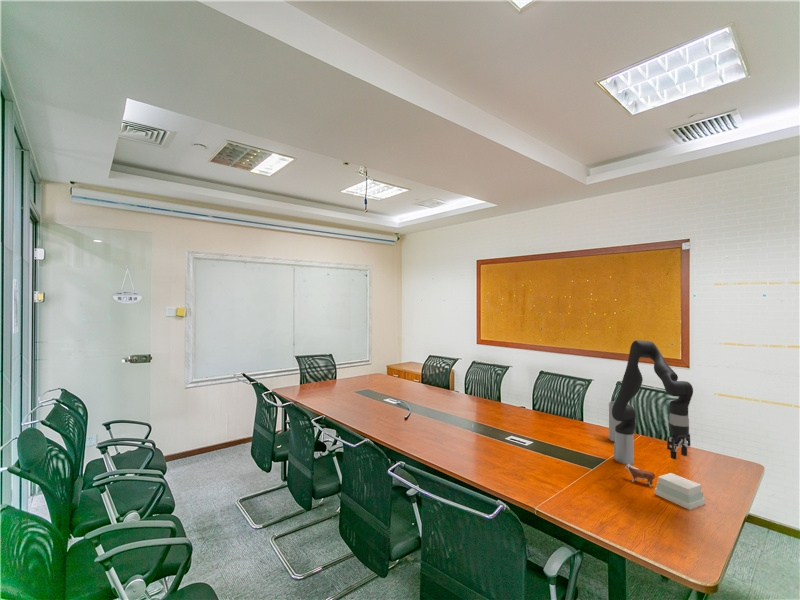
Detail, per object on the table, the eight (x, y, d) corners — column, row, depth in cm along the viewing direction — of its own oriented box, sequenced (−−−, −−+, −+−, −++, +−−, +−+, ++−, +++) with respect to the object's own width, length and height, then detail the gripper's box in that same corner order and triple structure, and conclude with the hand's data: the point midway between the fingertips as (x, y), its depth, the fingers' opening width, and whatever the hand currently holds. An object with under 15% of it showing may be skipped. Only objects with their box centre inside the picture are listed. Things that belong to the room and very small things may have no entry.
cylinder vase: (632, 440, 245) (632, 403, 245) (628, 446, 236) (628, 407, 236) (611, 436, 253) (611, 400, 254) (607, 441, 244) (606, 404, 244)
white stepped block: (654, 494, 176) (654, 476, 176) (669, 489, 181) (669, 471, 181) (690, 510, 162) (689, 490, 162) (705, 504, 167) (704, 485, 167)
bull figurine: (625, 477, 194) (625, 461, 194) (655, 486, 184) (655, 470, 184) (623, 479, 191) (623, 464, 191) (653, 489, 181) (653, 472, 181)
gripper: (679, 418, 178) (679, 451, 178) (661, 422, 172) (661, 456, 172) (696, 423, 171) (696, 457, 171) (678, 427, 165) (678, 463, 165)
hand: (678, 457), depth 171 cm, fingers open, 8 cm apart
